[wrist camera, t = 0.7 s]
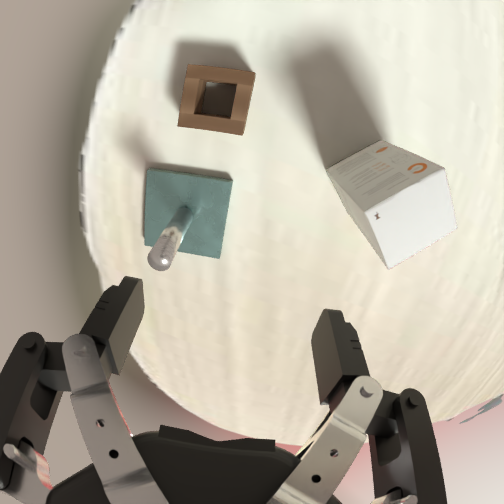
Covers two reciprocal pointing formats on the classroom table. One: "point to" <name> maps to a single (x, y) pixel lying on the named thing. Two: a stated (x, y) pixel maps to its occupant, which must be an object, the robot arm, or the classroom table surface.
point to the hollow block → (195, 96)
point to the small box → (395, 200)
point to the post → (184, 215)
